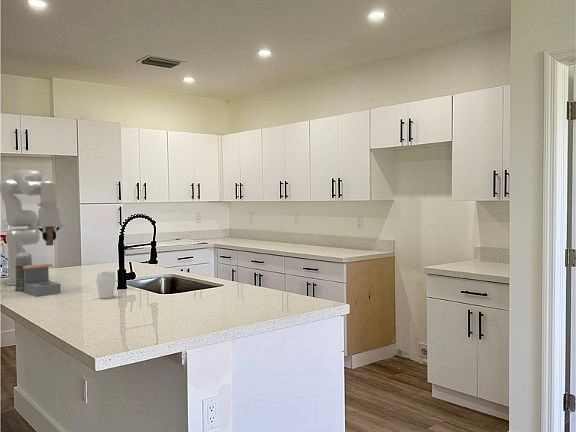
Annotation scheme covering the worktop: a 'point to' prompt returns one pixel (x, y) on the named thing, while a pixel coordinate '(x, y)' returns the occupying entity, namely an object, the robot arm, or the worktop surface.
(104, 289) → the cup
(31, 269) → the socket block
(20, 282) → the spray can
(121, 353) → the worktop surface
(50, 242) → the peg
